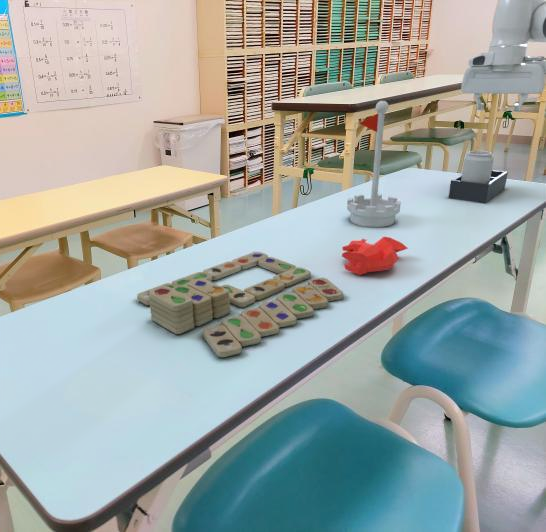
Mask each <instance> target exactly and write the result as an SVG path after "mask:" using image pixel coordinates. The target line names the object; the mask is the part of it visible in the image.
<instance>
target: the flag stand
mask: <svg viewBox="0 0 546 532" xmlns="http://www.w3.org/2000/svg"><path fill="white" fill-rule="evenodd" d="M375 110H376V114H374V115H372V116H370V117H368V118H366V119H364V120H362V121H361V122H359V123H358V124H359V125H361V126H363V127H365V128H368V130H372V131H373V132H376V134H375V146H374V157H373V170H372V182H371V191H370V192H371V193H370V197H366V198H365V195H364V194H356V195H354V197H348V198H347V205H346V210H347V211H348V212H349V213H350V217H349V218H350V222H351V223H353V224H355V225H357V226H361V227H362V226H363V227H368V228H383V227H388V226H391V225H394V224H395V219H396V215H397V214H399V213H400V211H401V205H402V204H401V203H402V201H401V200H398V198H397V197H395V196H393V195H392V196H391V195H390V196H388V197H387V199H384V198H382V197H383V194H379V193H378V192H379V184H380V183H379V182H380V173H381V159H382V149H383V138H384V129H385V128H384V127H385V116H386V115H385V114H386V112H388V110H389V103H388V102H387V101H385V100H380V101H378V102H377V103H376V105H375Z"/></svg>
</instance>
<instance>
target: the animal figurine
mask: <svg viewBox="0 0 546 532" xmlns="http://www.w3.org/2000/svg"><path fill="white" fill-rule="evenodd" d="M366 241H367V239H365V238H362V239H360V240H351V241H350V242H349V244H348V245H344V246H341V247H342V248H341V249H342V251H343V253H342V254H341V257H342V258H344V259H346V260H347V261H348V263H349V264H348V263H347V264H346V263H344V264H343V267H344V270H346V271H348V272H350V273H353V274H356V275H359V276H362V275H365V274H367V273H372V272H382V271H389V270H391V269H392V267H394V265H395V264H396V262H397V261H398V260H399V256H398V254H397V253H399V252H403V251H405V250H407V249H409V247H407V246H406V245H405V244H403V243H402V242H400V241H399V240H397V239H395V238H392V237H389V236H383V237H381V238H380V239H379V240H378V241H376V242H375V243H374V244H371V243H368V242H366Z"/></svg>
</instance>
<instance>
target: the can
mask: <svg viewBox="0 0 546 532" xmlns="http://www.w3.org/2000/svg"><path fill="white" fill-rule="evenodd" d="M494 159H495V158H494V157H493V153H492V152H491V151H485V150H470V151H468V152H467V154H466V155H465V156H464V157H463V165H462V170H461V174H462V177H461V181H466V182H475V183H483V184H487V183H489V182H490V177H491V172H492V170H493V165H494Z"/></svg>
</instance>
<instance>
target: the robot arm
mask: <svg viewBox="0 0 546 532" xmlns="http://www.w3.org/2000/svg"><path fill="white" fill-rule="evenodd" d="M491 33H492V36H491V41H490V43H489V47H488V51H487V52H483V53H480V54H478V55H476V56H472V57H470V58H469V59H468V67H467V68H466V69H465V71H464V73H463V77H462V81H461V86H460V87H461V88H460V90H461V92H462V93H463V94H473V99H474V101H475V103H476V109H475V110H476V111H484V109H485V103H484V102H482V101H481V99H480V98H481V97H482V95H483V94H485V95H487V94H492V95H493V94H499V95H500V94H501V95H502V94H504V95H505V94H506V95H508V94H509V95H512V94H513V95H517V94H518V95H520V97H519V98H520V100H519V102H518V103H515V104H513V112H521V111H522V107H523V104H524V103H525V102H526V101H527V100H528V97H529V94H530V95H531V94H532V95H538V94H541V93H542V92H544V90H545V89H546V57H545V56H544V55H543V56H542V55H541V56H540V55H539V56H526V54H527V47H528V42H529V43H546V0H498V1H497V3H496V6H495V9H494V14H493V19H492V25H491Z"/></svg>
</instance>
